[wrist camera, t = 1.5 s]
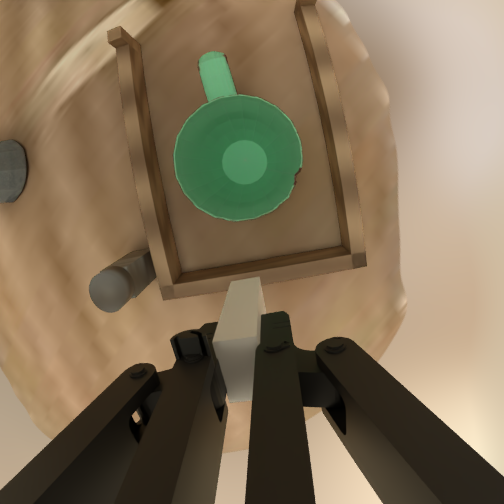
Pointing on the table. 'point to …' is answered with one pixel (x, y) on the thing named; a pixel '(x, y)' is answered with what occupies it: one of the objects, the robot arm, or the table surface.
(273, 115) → the mug
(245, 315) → the robot arm
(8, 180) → the moka pot
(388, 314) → the table surface
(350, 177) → the bay
